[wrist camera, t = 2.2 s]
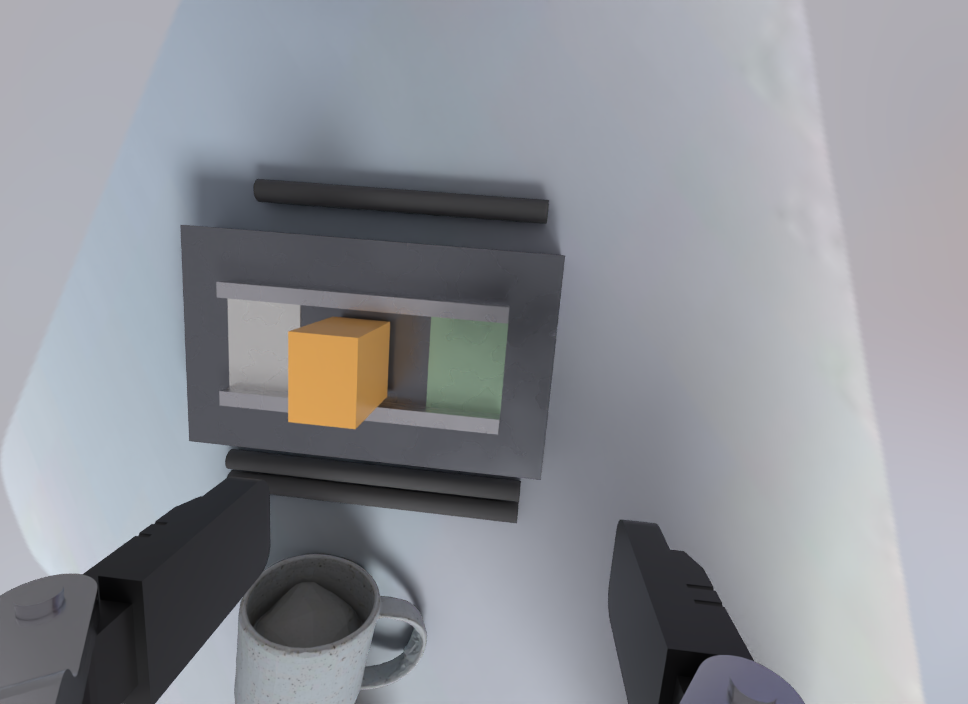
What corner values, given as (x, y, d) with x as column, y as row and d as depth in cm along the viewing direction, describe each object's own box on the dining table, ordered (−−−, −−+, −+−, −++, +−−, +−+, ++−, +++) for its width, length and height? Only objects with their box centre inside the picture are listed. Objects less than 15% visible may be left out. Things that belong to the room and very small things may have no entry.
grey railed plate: (548, 201, 28) (549, 199, 26) (516, 516, 31) (516, 527, 30) (230, 178, 29) (218, 175, 28) (237, 484, 33) (226, 492, 31)
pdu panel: (561, 255, 28) (566, 255, 24) (539, 457, 30) (541, 488, 27) (215, 227, 29) (167, 223, 26) (220, 423, 32) (177, 447, 28)
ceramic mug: (268, 646, 35) (199, 756, 27) (280, 541, 33) (211, 627, 26) (419, 680, 35) (391, 800, 27) (439, 576, 33) (416, 672, 25)
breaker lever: (390, 321, 26) (358, 338, 21) (387, 396, 27) (355, 429, 22) (333, 316, 26) (288, 331, 21) (331, 390, 27) (288, 421, 22)
